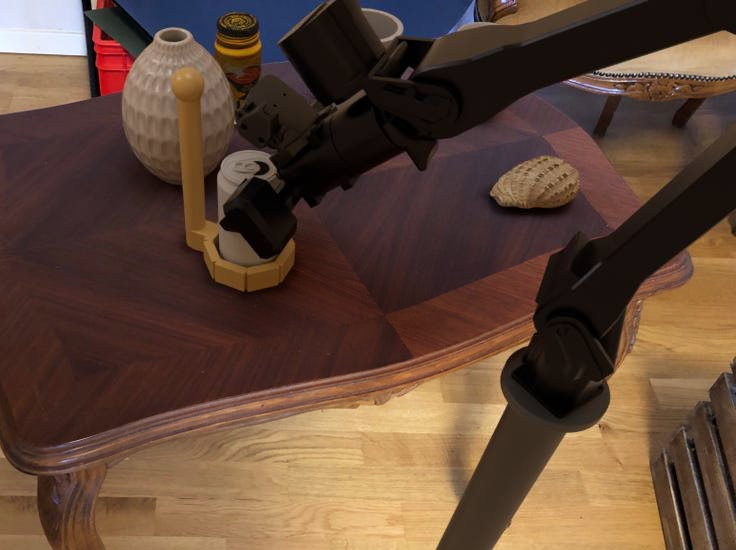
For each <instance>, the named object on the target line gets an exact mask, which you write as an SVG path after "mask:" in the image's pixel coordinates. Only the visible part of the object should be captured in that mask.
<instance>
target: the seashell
mask: <svg viewBox="0 0 736 550" xmlns="http://www.w3.org/2000/svg"><path fill="white" fill-rule="evenodd" d="M570 164H571V163H570V161H564V159H563V158H561V157H559V156H551V155H546V154H545V155H540V156H536V157H534V158H531V159H528V160H525V161H523V162H521V163H519V164H517V165H516V166H514V167H513V168H511V169H510V170H509V171H507V172H505V173H504V174H503V175H502V176H500V178H499V179H498V181H497V182H496V183H495V184H494V185H493V187H492V189H491V190H490V191H489V193H488V195H490V196H491V197H492V198H493V199H494V200H495V201H496V202H497V204H498V205H499V206H501V207H516V208H520V209H532V208H543V209H554V208H558V207H560V206H564V205H567V204H568V203H569V202H571V201H572V200H573V199H575V198H576V196H577V195H578V193H579V191H580V190H579V189H580V186H581V180H579V178H580V174H579V170H577V169H576V168H575V167H573V166H572V165H570Z"/></svg>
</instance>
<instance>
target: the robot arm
mask: <svg viewBox="0 0 736 550" xmlns="http://www.w3.org/2000/svg"><path fill="white" fill-rule="evenodd" d="M361 8H362V6H361V4H360V3H359V0H329V1H326V0H324V1H323V2H322V3H321V4H319V5H318V6H317V7H315V8H314V9H313V10H311V12H310V13H308V14H307V15H306V16H305V17H304V18H302V19H301V20H300V21H299V22H298V23H297V24H295V26H293V27H292V28H291V29H290V30H289V31H288V32H287V33H285V34H284V35H283V36H282V38H280V39H279V41H278V42H277V43H276V45H277V46H278V48H279V49H280V50H281V52H282V53H283V55H284V56H285V57H286V59H287V60H288V62H289V63H290V65H291V66H292V67H293V70H295V72H296V73H297V74H298V76H299V77H300V79H301V80H302V82H303V83H304V84H305V86H306V87H307V89H308V91H309V92H310V93H311V95H312V96H313V97H314V98H315V100H314V101H313V102H311V103H309V101H308V100H307V99H306V98H305V97H304V96H303V95H301V94H300V93H299V92H297V91H296V90H295V89H294V88H292V87H291V86H290V85H288V83H286V82H285V81H283V79H281V78H279V77H278V76H277V75H274V74H271V73H267V74H265V75H264V76H263V77H261V80H260V81H259V82H258V83H257V84H256V85H255V86H254V87H253V88H252V89H251V90H250V92H249V94H248V95H247V97H246V99H245V101H244V103H243V105H242V106H241V107H240V108H239V109H238V110H237V111H236V113H235V116H236V119H235V121H236V124H235V125H237V126H236V130H237V133H238V135H239V136H240V137H242V138H243V139H244V140H246V141H247V142H248V143H250V144H251V146H254V147H255V148H257V149H258V150H263V149H265V148H266V147H267V148H268V149H271V150H274V152H272V154H270V155H271V156H270V158H269V160H270V161H271V162H272V164H273V165H274V166H275V167H276V170H275V171H274V174H275V175H276V177H277V178H278V179H279V180H280V181H281V180H282V181H281V182H280V184H279V185H278V186H277V187H276V189H275V190H274V189H273V187H272V186H271V185H270V183H269V182H268V181H267V180H264V179H261V178H258V177H255V176H253V177H252V178H250V179H247V178H245V179H244V180H243V182H242V183H241V184H240V185H239V186H238V187H237V189H236V190H235V191H234V193H233V194H232V195H231V196H230V197H229V198H228V200H227V201H226V202H225V203H224V204H223V211H224V215H225V217H224V218H223V219H222V220H221V221H220V222H219V224H220V226H221V227H222V228H223V229H224V230H225V231H228V232H235V233H240V234H241V236H242V237H243V238H244V239H245V240H246V242H247V243H248V244H249V245H250V246H251V248H252V249H253V250H254V251H255V253H256V254H257V255H258V256H259V257H260V259H269V258H271V257H273V256H276V255H278V254H279V255H280V253H281V252H282V251H283V249H284V248H285V247H286V245H287V244H288V242H289V241H290V239H291V238H292V239H293V237H294V235H295V234H296V232H297V229H298V218H297V216H296V215H295V214H294V213H293V211H294V209H295V208H296V206H297V205H298V203H299V202H300V201H301V199H303V200H304V201H305V202H306V204H307V205H308V207H309V208H310V209H313V208H315V207H317V206H319V205H320V204H321V203H322V201H323V199H325V197H326V196H327V194H328V193H330V192H331V191H333V190H336V189H338V188H339V187H340V188H341V189H342V190H343V192H346V191H348V190H350V189H352V188H353V187H354V186H355V185H356V184H357V182H358V180H359V178H360V177H361V176H362V175H363V174H366V173H367V172H369V171H371V170H373V169H375V168H378V167H379V166H381V165H382V164H384V163H386V162H388V161H390V160H392V159H395V158H396V157H397V156H399V155H401V154H403V153H406V154H407V155H408V157H409V158H410V160H411V162H412V163H413V164H414V166H415V167H416V168H417V170H418V171H419V172H425V171H427V169H428V167H429V165H430V164H431V162H432V160H433V158H434V157H435V155H436V154H437V152H438V149H439V141H440V140H447V139H453V138H455V137H458V136H460V135H462V134H464V133H466V132H468V131H469V130H472V129H474V128H476V127H478V126H480V125H482V124H483V123H486V122H488V121H490V120H491V119H493V118H495V117H496V116H497V115H499V114H500V113H502V112H503V111H505V110H507V108H509V107H511V106H512V105H513V104H515V103H516V102H518V101H520V100H521V99H522V98H524V97H527V96H528V95H530V94H532V93H534V92H536V91H538V90H541V89H545V88H548V87H551V86H554V85H557V84H561V83H563V82H567V81H570V80H573V79H575V78H580V77H582V76H585V75H588V74H592V73H595V72H597V71H600V70H604V69H607V68H610V67H614V66H617V65H620V64H623V63H627V62H629V61H632V60H635V59H639V58H641V57H644V56H648V55H651V54H654V53H657V52H660V51H663V50H666V49H670V48H673V47H676V46H679V45H682V44H685V43H689V42H691V41H696V40H698V39H701V38H704V37H707V36H710V35H714V34H717V33H720V32H724V31H725V32H727V33H730V34H732V35H735V36H736V0H586V1H585V0H584V1H582V2H580V3H577V4H574V5H572V6H569V7H567V8H564V9H561V10H559V11H557V12H554V13H552V14H549V15H545V16H544V17H540V18H538V19H535V20H532V21H528V22H523V23H518V24H500V25H486V26H481V27H477V28H472V29H467V30H462V31H458V32H457V31H454V32H450V33H446V34H444V35H442V36H440V37H441V38H440V37H438V38H427V37H416V36H406V35H405V36H404V35H402V36H395V38H394V39H393V40H392V41H391V43H390V44H389V45H388V46H386V47H384V45H383V44H382V42H381V40H380V39H379V37H378V36H377V34H376V33H375V31H374V30H373V28H372V27H371V25H370V24H369V22H368V20H367V19H366V17H365V16H364V14H363V12H362V9H361ZM408 68H411V69H413V70H412V71H411V73H410V75H408V77H407V79H405V78H402V77H403V76H404V74H405V73H406V71H407V70H408ZM362 89H363V90H364V91H365V93H364V94H363V95H361V96H359V97H358V98H356V99H355V100H353V101H352V102H350V103H348V104H347V105H345V106H344V107H342V108H341V109H339V110H338V109H337V107H336V106H334V107H333V106H332V103H335V104H336V105H340V104H342V103H343V102H345V101H347V100H348V99H350V98H351V97H353V96H354V95H355V94H357V93H358V92H359V91H361V90H362ZM735 212H736V122H734V123H733V124H732V125H731V126H730V127H729V128H728V129H727V130H725V131H724V132H723V133H722V134H721V135H720V136H719V137H718V138H716V139H715V140H714V141H713V142H712V143H711V144H710V145H708V146H707V147H706V148H705V149H704V150H703V151H702V152H701V153H700V154H698V155H697V156H696V157H695V158H694V159H693V160H691V162H690V163H688V164H687V165H686V166H685V167H684V168H683V169H682V170H681V171H680V172H678V173H677V174H676V175H675V176H674V177H672V179H671V180H669V181H668V182H667V183H666V184H665V185H664V186H663V187H662V188H661V189H659V190H658V191H657V192H656V193H655V194H654V195H653V196H652V197H650V198H649V199H648V200H647V201H646V202H645V203H644V204H643V205H641V206H640V208H638V209H637V210H635V212H634V213H632V215H630V216H629V217H628V218H627V219H626V220H625V221H623V222H622V224H620V225H619V226H618V227H617V228H616V229H615V230H614V231H612V232H611V233H609V234H607V235H605V236H601V237H597V238H594V239H590V238H589V237H588V236H587V235H586V234H585V233H584V232H583V231H582V230H577V232H575V234H574V235H573V236H572V238H571V239H570V241H569V242H568V243H567V244H566V245H565V246H564V247H563V248H562V249H560V250H559V251H556V252H554V253H551V254H550V255H549V257H548V260H547V263H546V266H545V270H544V273H543V276H542V278H541V282H540V285H539V287H538V291H537V294H536V297H535V300H534V302H535V304H536V306H535V310H534V312H533V316H532V318H531V319H532V323H533V326H534V329H535V331H536V332H534V333H533V334H532V336H531V338H530V340H529V342H528V345H526V346H527V349H526V351H525V353H524V355H523V357H522V362H523V363H524V364H523V365H521V366H520V367H518V368H516V369H515V370H513V371H512V373H511V377H512V378H513V379H514V380H515V381H516V382H517V383H518V384H519V385H520V386H522V387H523V388H524V389H525V390H526V391H527V392H528V393H529V394H531V395H532V396H533V397H534V398H535V399H536V400H537V401H538V402H539V403H541V404H542V405H543V406H544V407H545V408H546V409H547V410H548V411H550V412H551V413H552V414H553V415H554V416H555V417H557V418H559V419H563V418H565V417H566V416H568V415H569V414H571V413H572V412H574V411H575V410H577V409H578V408H580V407H581V406H583V405H584V404H586V403H587V402H589V401H590V400H592V399H593V398H595V397H597V396H598V395H600V394H601V393H602V392H603V391H604V386H603V385H602V384H601V383H602V381H603V380H604V378H605V379H606V378H608V377H609V376H611V375H613V374H614V372H615V368H616V364H617V359H618V358H619V356H618V355H619V349H620V345H621V340H622V335H623V330H624V327H625V320H626V316H627V311H628V306H629V304H630V303H631V301H632V300H633V298H634V297H635V295H636V294H637V293H638V291H639V289H640V287H641V286H642V285H643V284H644V283H645V282H646V281H647V280H649V279H650V278H651V277H652V276H654V275H655V274H656V273H657V272H658V271H660V270H661V269H662V268H664V267H665V266H666V265H668V264H670V262H672V261H673V260H674V259H675V258H677V257H678V256H679V255H680V254H682V253H683V252H684V251H686V250H687V249H688V248H689V247H691V246H692V245H694V243H696V242H697V241H698V240H700V239H701V238H702V237H704V236H705V235H706V234H708V233H709V232H710V231H711V230H713V229H714V228H715V227H716V226H718V225H719V224H720V223H722V222H723V221H724V220H725V219H726V218H728V217H729V216H731V215H732V214H734V213H735ZM515 374H517V375H518V376H517V375H515ZM598 388H599V389H598ZM558 412H559V413H561V414H559V413H558Z"/></svg>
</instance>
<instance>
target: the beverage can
mask: <svg viewBox="0 0 736 550" xmlns="http://www.w3.org/2000/svg"><path fill="white" fill-rule="evenodd" d="M271 155H272V154H269V153H268V152H264V151H262V150H261V151H260V150H256V149H255V150H254V149H245V150H244V149H243V150H240V151H236V152H235V151H234V152H233V153H230V154H229V155H227V156H226V157H225V158H223V159H222V161H221V164H220V170H219V171H218V173H217V177H216V180H217V181H216V182H217V183H216V184H217V211H218V212H217V213H218V217H217V218H218V221H219V222H220V221H221V220H222V219H223V218H224V217H225V215H224V211H223V204H224V203H225V202H226V201H227V200H228V198H229V197H230V196H231V195H232V194H233V193H234V191H235V190H236V189H237V187H238V186H239V185H240V184H241V183H242V182H243V180H244V179H245V178H247V179H250V178H252V177H253V176H255V177H258V178H261V179H264V180H267V181H268V182H269V183H270V185H271V186H272V187H273V189H274V190H275V189H276V187H277V186H278V185H279V184H280V182H281V181H282V180H281V181H280V180H279V179H278V178H277V177H276V175H275V174H274V171H275V170H276V167H275V166H274V165H273V164H272V162H271V161H270V160H269V158H270V156H271ZM279 255H280V254H278V255H276V256H273V257H271V258H269V259H260V257H259V256H258V255H257V254H256V253H255V251H254V250H253V249H252V248H251V246H250V245H249V244H248V243H247V242H246V240H245V239H244V238H243V237H242V236H241V234H240V233H235V232H228V231H225V230H224V229H223V228H222V227H221V226H220V224H219V256H220V258H221V259H223V260H226V261H228V262H231V263H234V264H237V265H240V266H243V267H245V268H249V267H253V266H258V265H262V264H267V263H272V262H275V261H276V259H277V258H278V256H279Z"/></svg>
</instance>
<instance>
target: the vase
mask: <svg viewBox="0 0 736 550" xmlns="http://www.w3.org/2000/svg"><path fill="white" fill-rule="evenodd" d="M185 67H189V68H193V69H195V70H197V71H198V72H199V73H200V74H201V76H202V77H203V80H204V91H203V94H202V96H201V121H202V145H203V170H204V179H205V178H206V177H207V176H209V175H210V174H211V173H212V172H213V171H214V170H216V168H217V167H218V166H219V164H220V163H221V162H222V161H223V160H224V157H225V155H226V154H227V151H228V149H229V148H230V145H231V141H232V139H233V135H234V130H235V124H234V122H235V112H234V101H233V94H232V91H231V88H230V85H229V82H228V80H227V78H226V76H225V74H224V72H223V70H222V68H221V67H220V65H219V64H218V62H217V61H216V60H215V59H214V56H213V55H212V54H211V53H210V52H209V51H208V50H207V49H206V48H205V47H204V46H203V45H201V44H199V42H197V41H196V40H195V39H194V36H193V34H192V33H191V31H190V30H188V29H186V28H181V27H167V28H163V29H161V30H159V31H157V32H155V34H154V37H153V40H152V42H151V43H150V44H149V45H148V46H146V47H145V48H144V49H143V50H142V51H141V53H140V54H139V55H138V56H137V57H136V59H135V61H134V62H133V63H132V65H131V67H130V69H129V71H128V74H127V76H126V78H125V82H124V85H123V89H122V95H121V119H122V125H123V130H124V134H125V137H126V139H127V142H128V144H129V147H130V149H131V151H132V152H133V154H134V155H135V156H136V158H137V160H138V161H139V162H140V163H141V164H142V165H143V167H144V168H145V169H146V170H148V171H149V172H150V173H151V174H152V175H154V176H155V177H157V178H158V179H159V180H161V181H163V182H165V183H167V184H170V185H174V186H183V184H182V169H181V155H180V140H179V126H178V111H177V98H176V96H175V95H174V93H173V91H172V87H171V82H172V78H173V76H174V74H175V73H176V72H177V71H178V70H179V69H182V68H185Z"/></svg>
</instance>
